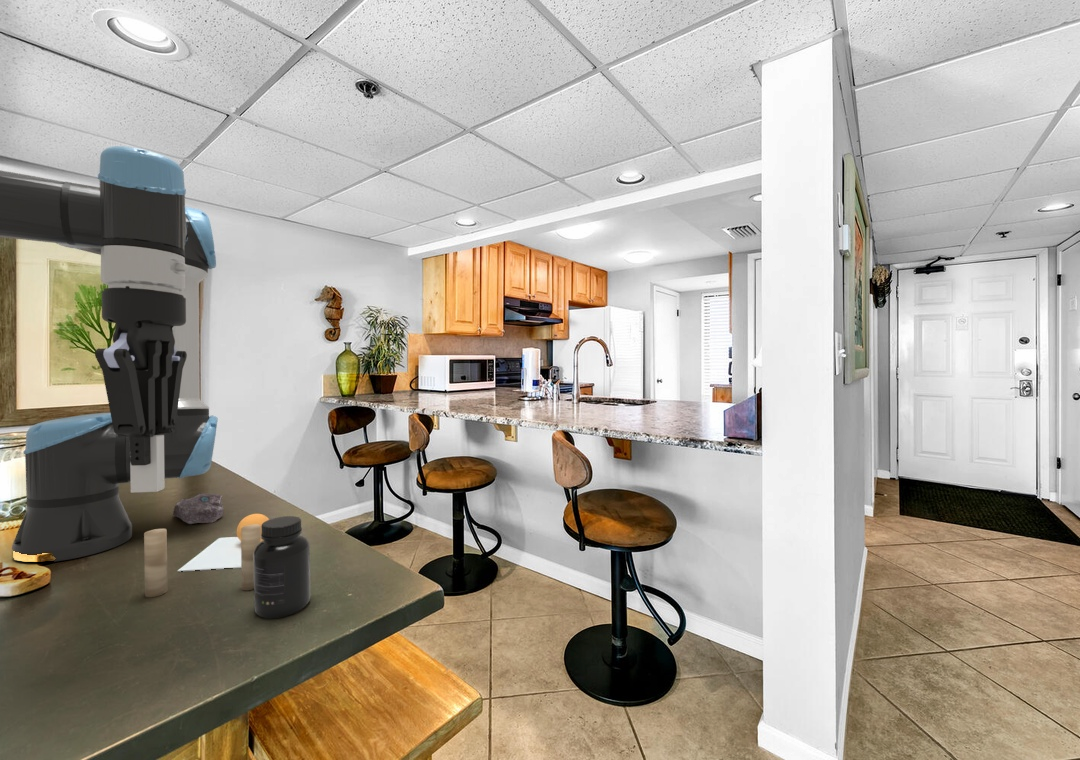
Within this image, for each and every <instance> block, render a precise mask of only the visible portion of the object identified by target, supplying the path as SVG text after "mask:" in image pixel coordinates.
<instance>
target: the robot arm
mask: <svg viewBox="0 0 1080 760" xmlns="http://www.w3.org/2000/svg"><path fill="white" fill-rule="evenodd" d="M97 179H98V181H99V186H93V185H88V184H81V183H74V182H70V181H62V180H56V179H51V178H45V177H41V176H35V175H29V174H23V173H17V172H11V171H6V170H2V169H1V170H0V238H3V239H5V238H6V239H7V238H8V239H16V240H23V241H35V242H44V243H53V244H54V243H55V244H56V245H60V246H62V247H65V248H69V249H76V250H79V251H84V252H86V253H87V252H88V253H90V254H96V255H99V256H100V282H101V283H102V284H104V285H107V288H106V287H105V288H104V289H103V290H102V291H101V318H102V320H104V322H107V323H111V324H115V327H114V332H113V334H112V342H113V343H111V345H110V346H109V347H108V348H101V347H100V348H96V349H95V352H94V356H95V359H96V361H97V363H98V364H99V367H100V369H101V371H102V375H103V382H104V386H105V393H106V397H107V403H108V407H109V412H103V413H102V412H99V413H90V414H83V415H74V416H70V417H69V416H68V417H62V418H56V419H50V420H46V421H42V422H38V423H36V424H34V425H33V424H32V426H30V427H29V428H28V430H27V432H26V433H25V434H26V435H25V447H24V451H23V455H24V456H25V457H24V459H25V460H24V461H25V462H24V463H25V487H26V488H25V489H26V490H25V491H26V492H25V493H26V511H25V513H24V515H23V519H22V521H21V523H20V525H19V528H18V530H17V532H16V535H15V538H14V540H13V542H12V545H11V551H12V550H13V551H15V552H19V553H21V554H27V555H37V554H42V553H52V554H53V555H52V556H54V557H55V558H56V559H55V561H54V562H60V561H68V560H73V559H77V558H82V557H87V556H91V555H94V554H98V553H102V552H106V551H108V550H111V549H114V548H116V547H119V546H121V545H122V544H125V543H127V542H128V541H129V540H130V539H131V538H132V537H133V524H132V522H131V520H130V518H129V515H128V513H127V511H126V509H125V507H124V505H123V503H122V501H121V499H120V493H119V492H120V484H125V483H130V494H131V493H155V492H156V493H157V492H159V491H161V490H164V489H165V483H166V482H165V481H166V480H168V479H175V478H176V479H177V478H178V479H183V478H185V477H193V476H200V475H204V474H205V473H207V472H208V471H210V468H211V465H212V462H213V456H214V448H215V441H216V435H217V428H218V427H217V426H218V417H217V416H214V415H210V407H209V406H208V405H207V404H205V403H204V402H203V401H202V400H201V397H200V396H201V393H200V392H201V391H200V389H201V387H200V384H201V382H200V376H201V375H200V283H201V282H202V281H204V280H206V278H208V276H209V270H212V269H215V268H217V257H216V250H215V243H214V242H215V241H214V237H213V230H212V226H211V221H210V218H209V215H208V214H207V213H205V212H204V211H203V210H201V209H199V208H194V207H190V206H189V207H188V206H186V196H185V195H186V193H187V190H186V187H185V173H184V170H183V168H182V167H181V165H179V163H177V162H176V161H175V160H173V159H171V158H170V157H167V156H165V155H162V154H159V153H157V152H154V151H150V150H146V149H142V148H137V147H132V146H131V147H130V146H110V147H107V148H105V149H103V150H102V152H101V153H100V160H99V173H98V174H97Z"/></svg>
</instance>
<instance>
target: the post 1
mask: <svg viewBox="0 0 1080 760" xmlns="http://www.w3.org/2000/svg"><path fill="white" fill-rule="evenodd" d="M167 535H168V532H167V528H155V529H151V530H147V531H145V532H144V533H143V536H144V537H143V541H144V545H143V546H144V547H143V549H144V550H143V551H144V559H143V560H144V596H145V598H154V597H155V598H156V597H159V596H162V595H164V594H166V593H168V545H167V544H168V543H167V541H168V539H167V538H168V537H167Z"/></svg>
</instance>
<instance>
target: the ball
mask: <svg viewBox="0 0 1080 760" xmlns="http://www.w3.org/2000/svg"><path fill="white" fill-rule="evenodd" d="M267 520H270V519H269V517H267V516H266V515H265V514H261V513H252V514H248V515H247V516H245V517H243V519H241V520H240V522H239V523H238V525H237V527H236V535H237V536H236V537H238V539H239V540H240V541H241V528H242V527H244V526H247V525H254V524H258V525H261V534H262V524H263V523H264V522H265V521H267ZM262 541H263V540H262V539H261V542H262Z"/></svg>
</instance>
